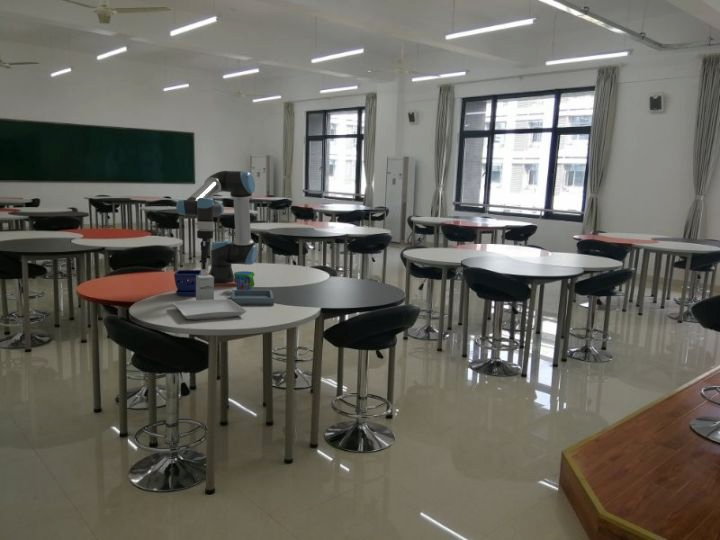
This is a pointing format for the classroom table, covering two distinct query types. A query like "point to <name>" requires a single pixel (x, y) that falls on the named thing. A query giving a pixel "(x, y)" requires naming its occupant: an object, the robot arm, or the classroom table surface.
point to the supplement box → (204, 287)
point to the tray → (253, 297)
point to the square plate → (209, 309)
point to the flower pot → (186, 282)
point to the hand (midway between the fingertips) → (204, 273)
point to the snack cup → (244, 280)
